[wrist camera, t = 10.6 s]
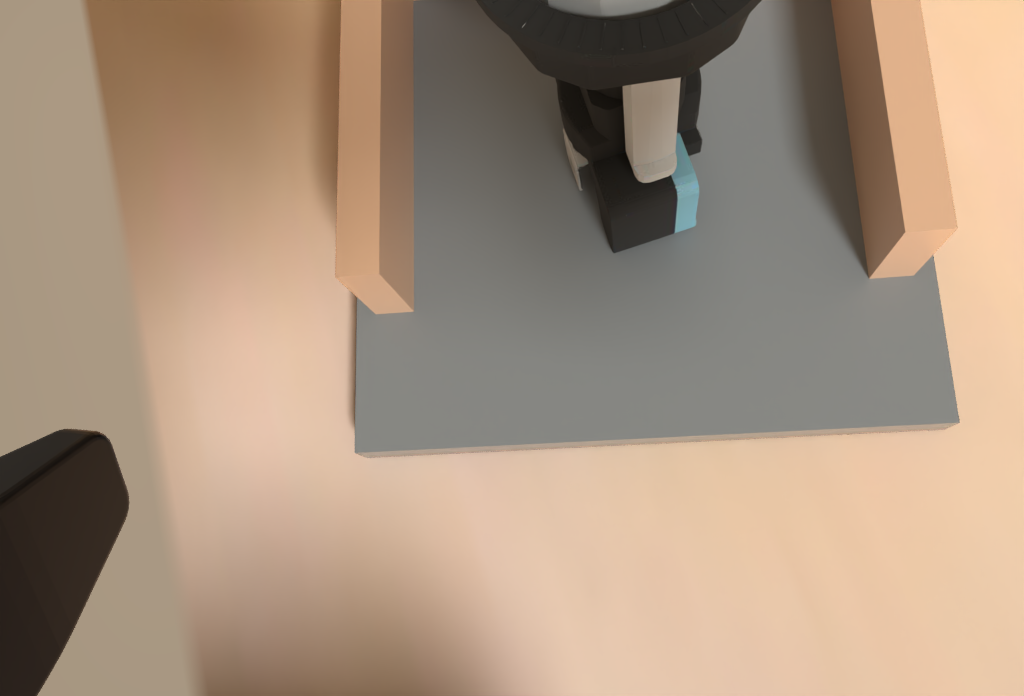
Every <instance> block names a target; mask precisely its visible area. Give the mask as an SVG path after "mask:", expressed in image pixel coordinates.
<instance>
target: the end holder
mask: <svg viewBox="0 0 1024 696" xmlns="http://www.w3.org/2000/svg"><path fill="white" fill-rule="evenodd" d="M699 69H700V73H701V81H702V82H701V98H700V106H699V115H698V120H697V127H698V130H699V132H700V135H701V137H702V148H701V152H700V153H697V154H694V155H691V156H689V158H690V161H691V163H692V166H693V169H694V171H695V174H696V177H697V180H698V185H699V198H698V205H697V212H696V220H697V221H696V226H695V227H692V228H689V229H686V230H683V231H680V232H677V233H674V234H671V235H668V236H665V237H662V238H659V239H656V240H653V241H650V242H647V243H644V244H641V245H638V246H635V247H632V248H629V249H626V250H623V251H620V252H617V253H613V252H612V250H611V247H610V244H609V241H608V239H607V236H606V233H605V230H604V227H603V223H602V219H601V214H600V209H599V204H598V199H597V194H596V189H595V184H594V180H593V176H592V173H591V169H590V166H589V165H587V166H584V167H581V168H580V169H579V171H580V175H581V181H582V187H583V190H582V191H580V190H579V188H578V185H577V182H576V179H575V176H574V173H573V170H572V167H571V165H570V162H569V158H568V155H567V150H566V145H565V140H564V133H563V129H564V126H563V122H562V117H561V112H560V107H559V101H558V93H557V83H556V80H555V78H553V77H550V76H548V75H545V74H542V73H541V72H539V71H538V70H537V69H536V68H535V67H534V66H533V64H532V63H531V62H530V61H529V60H528V58H527V57H526V56H525V55H524V54H523V52H522V51H521V50H520V49H519V47H518V46H517V45H516V44H515V43H514V41H513V40H512V39H511V38H510V36H509V35H507V34H506V33H505V32H504V31H503V30H501V29H500V28H499V27H498V26H497V25H496V24H495V23H494V22H493V21H492V20H491V19H490V18H489V17H488V16H487V15H486V14H485V12H484V11H483V10H482V8H481V7H480V6H479V4H478V3H477V1H476V0H341V30H340V78H339V125H338V173H337V220H336V267H335V277H336V278H337V279H338V280H339V281H340V282H341V283H342V284H343V285H344V286H345V287H347V288H348V289H349V290H350V291H351V292H352V293H353V294H354V295H355V296H356V297H357V331H356V400H355V453H356V454H359V455H361V456H364V457H367V458H372V457H392V456H413V455H433V454H453V453H474V452H494V451H514V450H535V449H555V448H576V447H596V446H616V445H637V444H657V443H677V442H698V441H718V440H739V439H759V438H779V437H800V436H820V435H840V434H861V433H881V432H902V431H922V430H942V429H947V428H949V427H951V426H953V425H956V424H958V423H959V416H958V410H957V403H956V397H955V391H954V384H953V378H952V371H951V365H950V359H949V352H948V346H947V340H946V333H945V327H944V320H943V314H942V308H941V301H940V295H939V289H938V282H937V276H936V269H935V263H934V257H933V254H934V253H935V252H936V251H937V250H938V249H939V248H940V247H941V246H942V245H943V243H944V242H945V241H946V240H947V239H948V238H949V237H950V236H951V235H952V234H953V233H954V232H955V231H956V229H957V228H958V227H957V221H956V215H955V209H954V203H953V197H952V190H951V184H950V178H949V172H948V166H947V160H946V154H945V148H944V142H943V136H942V130H941V124H940V118H939V112H938V106H937V100H936V94H935V88H934V82H933V76H932V70H931V64H930V58H929V51H928V45H927V39H926V33H925V27H924V21H923V15H922V9H921V3H920V0H762V1H761V2H760V3H759V4H758V5H757V6H756V7H755V8H754V9H753V10H752V11H751V12H750V14H749V16H748V18H747V20H746V22H745V24H744V27H743V29H742V31H741V33H740V35H739V37H738V39H737V41H736V42H735V43H734V44H733V45H732V46H730V47H729V48H728V49H726V50H725V51H723V52H722V53H721V54H719V55H718V56H716V57H715V58H714V59H712V60H711V61H709V62H708V63H706V64H705V65H704V66H702V67H701V68H699Z"/></svg>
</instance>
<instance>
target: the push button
mask: <svg viewBox="0 0 1024 696" xmlns="http://www.w3.org/2000/svg"><path fill="white" fill-rule="evenodd" d="M476 1H477V3H478V4H479V6H480V7H481V8H482V10H483V11H484V12H485V14H486V15H487V16H488V17H489V18H490V19H491V20H492V21H493V22H494V23H495V24H496V25H497V26H498V27H499V28H500V29H501V30H503V31H504V32H505V33H506V34H507V35H509V36H510V38H511V39H512V40H513V41H514V43H515V44H516V45H517V46H518V47H519V49H520V50H521V51H522V52H523V54H524V55H525V56H526V57H527V58H528V60H529V61H530V62H531V63H532V64H533V66H534V67H535V68H536V69H537V70H538V71H539V72H541V73H542V74H545V75H548V76H550V77H553V78H555V80H556V83H557V93H558V101H559V107H560V112H561V117H562V122H563V126H564V129H563V133H564V140H565V145H566V150H567V155H568V158H569V162H570V165H571V167H572V170H573V173H574V176H575V179H576V182H577V185H578V188H579V190H580V191H582V190H583V187H582V181H581V175H580V171H579V169H580V168H581V167H584V166H587V165H589V166H590V169H591V173H592V176H593V180H594V184H595V189H596V194H597V199H598V204H599V209H600V214H601V219H602V223H603V227H604V230H605V233H606V236H607V239H608V241H609V244H610V247H611V250H612V252H613V253H617V252H620V251H623V250H626V249H629V248H632V247H635V246H638V245H641V244H644V243H647V242H650V241H653V240H656V239H659V238H662V237H665V236H668V235H671V234H674V233H677V232H680V231H683V230H686V229H689V228H692V227H695V226H696V221H697V220H696V212H697V205H698V198H699V185H698V180H697V177H696V174H695V171H694V169H693V166H692V163H691V161H690V158H689V156H691V155H694V154H697V153H700V152H701V148H702V137H701V135H700V132H699V130H698V127H697V120H698V115H699V106H700V98H701V82H702V81H701V73H700V69H699V68H701V67H702V66H704V65H705V64H706V63H708V62H709V61H711V60H712V59H714V58H715V57H716V56H718V55H719V54H721V53H722V52H723V51H725V50H726V49H728V48H729V47H730V46H732V45H733V44H734V43H735V42H736V41H737V39H738V37H739V35H740V33H741V31H742V29H743V27H744V24H745V22H746V20H747V18H748V16H749V14H750V12H751V11H752V10H753V9H754V8H755V7H756V6H757V5H758V4H759V3H760V2H761V1H762V0H476Z"/></svg>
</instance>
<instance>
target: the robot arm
mask: <svg viewBox="0 0 1024 696" xmlns="http://www.w3.org/2000/svg"><path fill="white" fill-rule="evenodd" d="M128 509H129V496H128V491H127V488H126V485H125V482H124V479H123V476H122V473H121V470H120V467H119V464H118V462H117V458H116V456H115V453H114V450H113V447H112V444H111V442H110V440H109V439H108V438H107V437H106V436H105V435H104V434H102V433H100V432H97V431H88V430H77V429H63V430H59V431H56V432H54V433H52V434H50V435H47V436H45V437H43V438H41V439H39V440H37V441H34V442H32V443H30V444H28V445H25V446H23V447H21V448H19V449H17V450H14V451H12V452H10V453H8V454H6V455H3V456H1V457H0V696H37V695H38V693H39V691H40V690H41V688H42V686H43V685H44V683H45V681H46V680H47V678H48V676H49V675H50V673H51V671H52V669H53V668H54V666H55V664H56V662H57V661H58V659H59V657H60V655H61V653H62V652H63V649H64V648H65V646H66V644H67V642H68V640H69V638H70V636H71V634H72V632H73V630H74V628H75V625H76V624H77V621H78V619H79V617H80V615H81V613H82V611H83V609H84V607H85V605H86V602H87V600H88V598H89V596H90V594H91V592H92V590H93V588H94V585H95V583H96V581H97V579H98V577H99V575H100V573H101V570H102V569H103V566H104V564H105V562H106V560H107V558H108V556H109V554H110V552H111V550H112V547H113V545H114V543H115V541H116V539H117V537H118V535H119V532H120V531H121V528H122V526H123V524H124V522H125V520H126V517H127V513H128Z"/></svg>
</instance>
